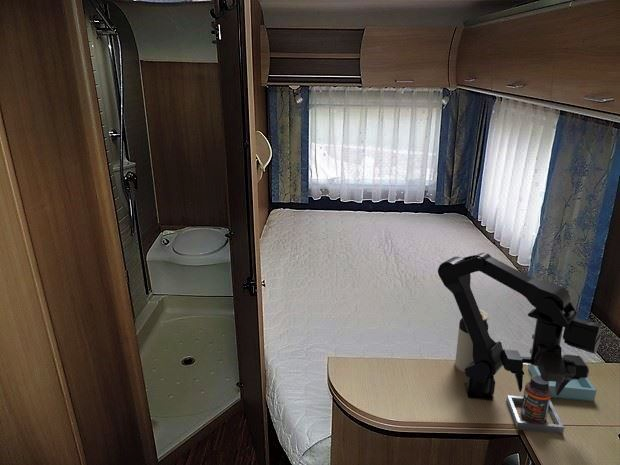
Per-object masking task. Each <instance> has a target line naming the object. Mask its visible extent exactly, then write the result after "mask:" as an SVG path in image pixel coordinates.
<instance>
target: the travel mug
mask: <svg viewBox="0 0 620 465" xmlns="http://www.w3.org/2000/svg"><path fill="white" fill-rule="evenodd" d="M479 311H480V313H481V316H482V318H483V321H484V323H485V326H486V328H487V331H488V332H489V323H488V322H487V321H488V319H489V317H490V316H489V314H488V312H486V311H484V310H482V309H481V308H479ZM458 323H459V325H458V335H457V342H456V343H457V344H456V352H455V361H454V365H455V367H456V369H457V370H458V371H459V372H462V373H464V374H466V373H465V368H466V367H467V366H468V365H469V364H470V363H472V362H473V357H472V349H473V344H472V341H471V338H470V335H469V333H468V330H467V328H466V325H465V323H464V320H463V318H462V317H461V319H460V320H459V322H458Z"/></svg>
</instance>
